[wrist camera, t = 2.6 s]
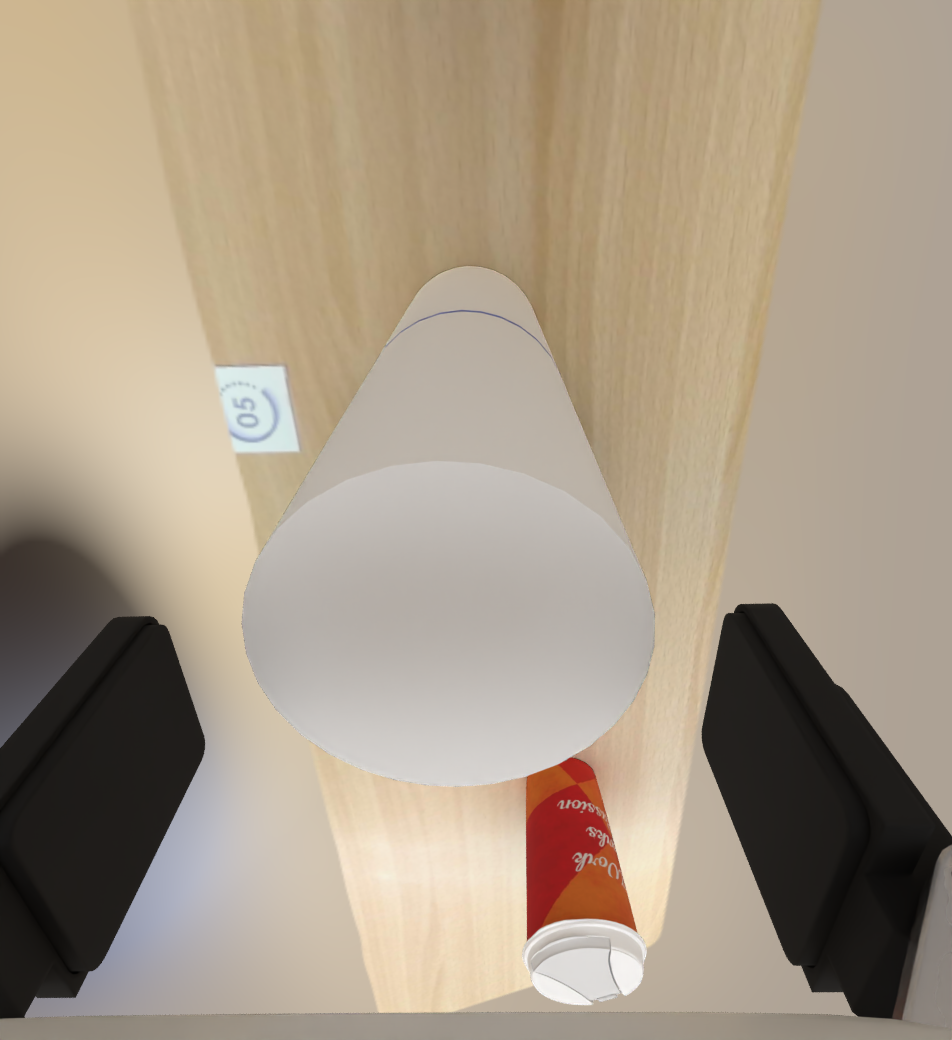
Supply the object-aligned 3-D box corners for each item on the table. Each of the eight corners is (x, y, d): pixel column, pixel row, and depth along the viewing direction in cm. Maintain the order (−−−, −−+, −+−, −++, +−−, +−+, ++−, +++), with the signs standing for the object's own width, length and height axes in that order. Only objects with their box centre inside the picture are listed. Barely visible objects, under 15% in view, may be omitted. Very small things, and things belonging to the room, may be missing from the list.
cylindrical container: (550, 278, 31) (714, 497, 9) (523, 412, 35) (597, 804, 13) (410, 254, 31) (234, 427, 9) (397, 392, 34) (246, 765, 12)
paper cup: (624, 792, 50) (670, 990, 38) (540, 822, 52) (558, 1020, 40) (583, 733, 47) (619, 928, 34) (494, 767, 49) (499, 963, 36)
